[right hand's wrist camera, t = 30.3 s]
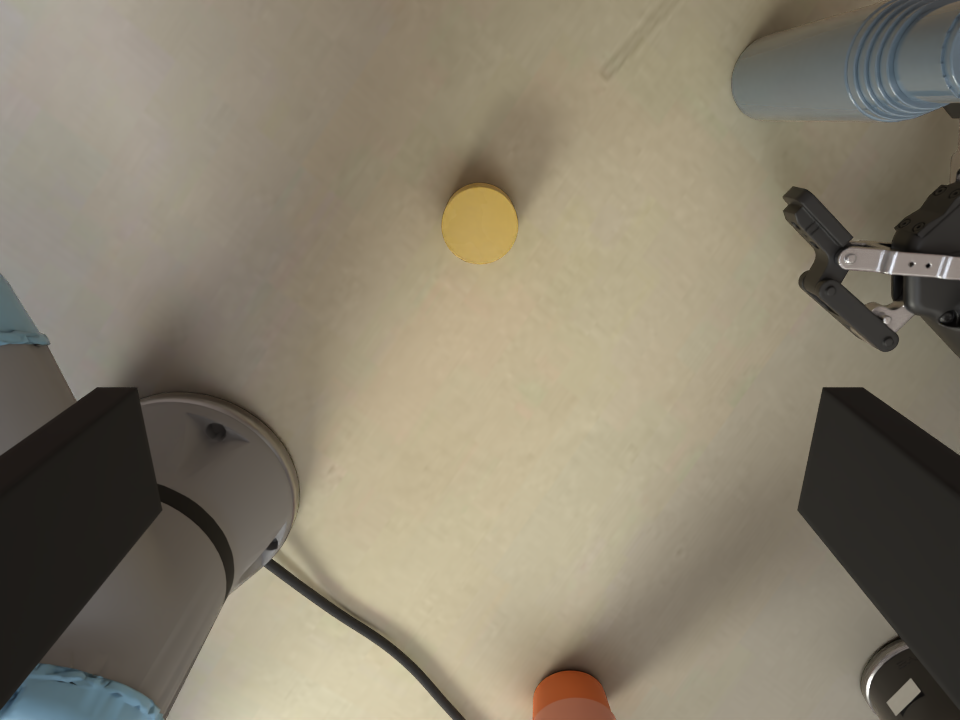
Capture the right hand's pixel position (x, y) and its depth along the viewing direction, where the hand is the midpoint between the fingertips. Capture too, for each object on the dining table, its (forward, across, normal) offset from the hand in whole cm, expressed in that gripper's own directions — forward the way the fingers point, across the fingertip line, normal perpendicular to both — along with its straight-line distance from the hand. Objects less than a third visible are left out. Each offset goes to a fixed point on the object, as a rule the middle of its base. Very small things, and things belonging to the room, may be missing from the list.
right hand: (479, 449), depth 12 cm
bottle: (+30, +17, +8) cm, 36 cm away
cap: (+30, 0, 0) cm, 30 cm away
